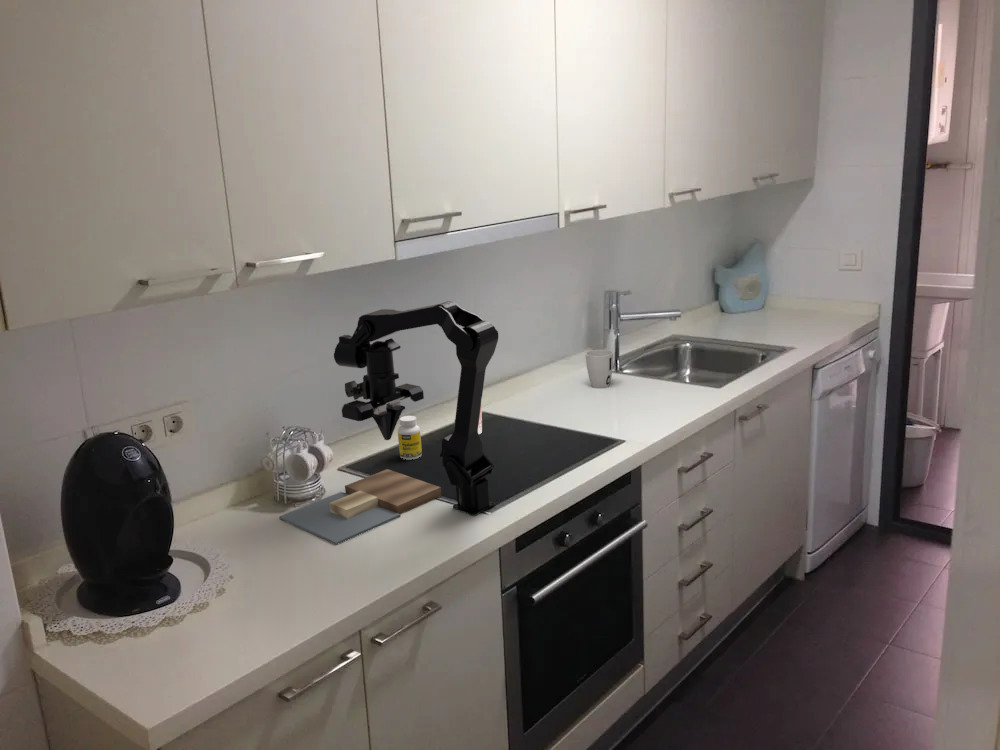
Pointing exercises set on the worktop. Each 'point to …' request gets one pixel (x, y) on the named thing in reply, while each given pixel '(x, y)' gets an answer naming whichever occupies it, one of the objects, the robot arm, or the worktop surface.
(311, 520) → the slate mat
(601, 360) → the cup
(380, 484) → the walnut board
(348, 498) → the birch tile
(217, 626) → the worktop surface
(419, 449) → the supplement bottle
